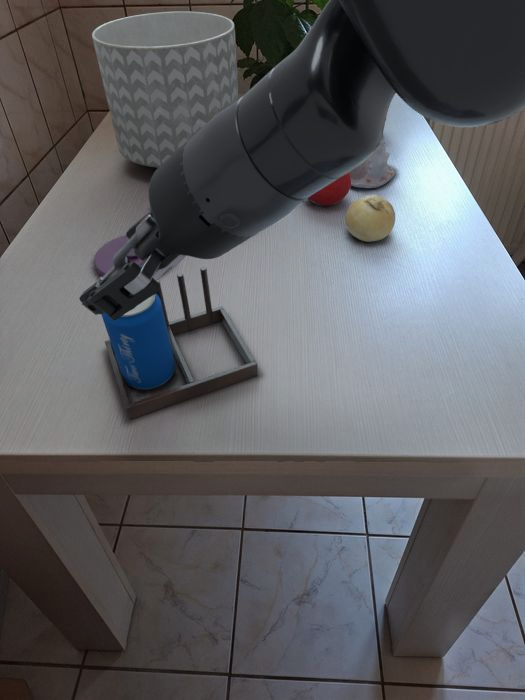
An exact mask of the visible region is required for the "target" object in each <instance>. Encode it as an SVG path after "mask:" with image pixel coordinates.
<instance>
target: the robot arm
mask: <svg viewBox="0 0 525 700" xmlns="http://www.w3.org/2000/svg"><path fill="white" fill-rule="evenodd" d="M395 95H397V96H398V97H399V98H400V99H401V100H402V101H403V102H404V103H405V104H406V105H407V106H408V107H410V108H411V109H412V110H413V111H414V112H416V113H418V114H419V115H421V116H422V117H423V118H424V117H425V118H426V119H428V120H430V121H432V122H434V123H437V124H439V125H444V126H448V127H453V128H463V129H464V128H469V129H470V128H479V127H485V126H489V125H492V124H496V123H500V122H502V121H505V120H506V119H508V118H510V117H512V116H514V115H516V114H517V113H519V112H521V111H522V110H524V109H525V0H328V2H327V3H326V4H325V5H324V7H323V9H322V10H321V11H320V13H319V15H318V16H317V17H316V19H315V21H314V23H313V24H312V26H311V27H310V29H309V30H308V32H307V33H306V34H305V36H304V38H303V39H302V41H301V42H300V43H299V44H298V45H297V47H296V48H295V49H294V50H293V51H292V52H291V53H290V54H289V55H287V56H286V57H285V58H284V59H282V60H281V61H279V63H277V64H276V65H275V66H274V67H273V68H272V69H271V70H270V71H268V72H267V73H266V74H265V75H264V76H263V77H262V78H261V79H259V81H258V82H257V83H255V84H254V85H253V86H252V87H251V88H250V89H249V90H247V92H245V93H244V94H243V95H242V96H241V97H239V99H238V100H237V101H236V102H234V103H233V104H231V105H230V106H228V107H226V108H225V109H223V110H222V111H221V112H219V113H218V114H216V115H215V116H214V117H213V118H212V119H210V120H209V121H208V122H207V123H206V124H205V125H204V126H203V127H202V128H201V129H200V130H199V131H198V132H197V133H195V134H194V135H193V136H192V137H191V138H190V139H189V140H188V141H187V142H186V143H185V144H184V145H182V146H181V147H180V148H179V149H178V150H177V151H176V152H175V153H174V154H173V155H172V156H171V157H169V158H168V159H167V160H166V161H165V162H164V163H163V164H162V165H161V166H160V167H159V168H156V170H155V171H154V172H153V174H152V175H151V178H150V181H149V185H148V203H149V206H148V208H147V210H148V211H147V212H146V214H144V216H142V217H141V218H140V219H139V220H137V221H136V222H135V223H134V224H133V225H132V226H131V227H129V229H128V230H127V231H126V233H125V235H126V236H127V237H128V238H129V240H128V241H127V242H126V243H125V244H124V245H123V246H122V247H121V248H120V249H119V250H118V251H117V252H116V253H115V255H114V259H113V266H112V268H111V269H110V270H109V271H108V272H107V273H106V274H105V275H104V276H103V277H102V276H100V277H99V278H98V279H97V280H96V282H94V283H93V284H91V285H90V286H89V287H87V289H85V290H84V291H83V292H82V293H81V295H80V297H79V301H80V302H81V305H82V306H84V307H85V308H86V309H87V310H88V311H90V312H91V313H93V314H94V315H95V316H97V315H101V314H102V313H105V314H107V315H108V316H109V317H110V318H111V319H112V320H113V321H115V320H116V319H118V318H120V317H121V316H123V315H124V314H126V313H127V312H129V311H130V310H132V309H133V308H135V307H136V306H138V305H139V304H141V303H142V302H144V301H145V300H147V299H148V298H150V297H151V296H152V295H155V294H156V293H157V292H158V290H159V287H160V285H161V283H160V284H159V283H158V282H157V280H159V279H160V278H161V277H162V276H163V275H164V274H165V273H167V271H168V270H169V269H171V268H174V267H177V266H178V265H179V264H180V262H181V261H183V259H184V258H185V257H186V256H187V257H192V258H196V259H201V260H213V259H217V258H219V257H221V256H223V255H225V254H227V253H228V252H230V251H232V250H234V249H235V248H236V247H238V246H240V245H241V244H243V243H244V242H246V241H248V240H249V239H251V238H253V237H254V236H256V235H258V234H259V233H261V232H262V231H264V230H266V229H267V228H269V227H270V226H272V225H274V224H276V223H277V222H279V221H280V220H282V219H283V218H285V217H286V216H288V215H289V214H290V213H292V212H293V211H294V210H295V209H296V208H297V207H298V206H299V205H301V204H302V203H303V202H304V201H306V200H307V199H308V197H310V196H311V195H313V194H315V193H316V192H318V191H319V190H321V189H323V188H324V187H326V186H328V185H329V184H331V183H332V182H334V181H336V180H337V179H339V178H340V177H342V176H344V175H345V174H347V173H349V172H350V171H352V170H353V169H355V168H356V167H358V166H359V165H361V164H362V163H363V162H365V161H366V160H367V159H368V158H369V157H370V156H371V155H372V154H373V153H374V152H375V150H376V149H377V147H378V146H379V144H380V141H382V138H383V135H384V131H385V124H386V121H387V116H388V112H389V110H390V109H389V108H390V106H391V103H392V101H393V99H394V97H395ZM385 120H386V121H385ZM133 248H134V253H135V255H136V256H137V257H139V258H140V259H141V260H142V263H141V264H140V265H138V264H136V263H135V262H134V261H129V260H128V259H127V257H126V256H127V254H128V253H129V252H130V251H131V250H132V249H133Z"/></svg>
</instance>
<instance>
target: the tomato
mask: <svg viewBox="0 0 525 700" xmlns="http://www.w3.org/2000/svg"><path fill="white" fill-rule="evenodd" d="M351 187H352V186H351V177H350V173H347V174H345V175H344V176H342V177H340V178H339V179H337V180H336V181H334V182H332V183H331V184H329V185H328V186H326V187H324V188H323V189H321V190H319V191H318V192H316V193H315V194H313V195H311V196H310V197H308V198H307V199H308V201H309V202H312V203H313V204H315V205H317V206H321V207H322V206H324V207H328V206H333V205H336V204H338V203H340V202H341V201H343V200H344V199H345V197H347V195H348V194H349V191H350V189H351Z"/></svg>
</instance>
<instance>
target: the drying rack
mask: <svg viewBox="0 0 525 700" xmlns="http://www.w3.org/2000/svg"><path fill="white" fill-rule="evenodd" d="M207 269H208V268H207V267H206V266H201V267H200V268H199V272H200V279H201V286H202V293H203V300H204V307H205V310H204V311H202V312H198V313H195V314H192V315H191V311H190V305H189V298H188V293H187V288H186V282H185V276H184V274H183V272H179V273H177V274H176V279H177V284H178V289H179V295H180V301H181V306H182V310H183V316H184V317H182V318H178V319H174V320H172V321H169V318H168V313H167V308H166V303H165V299H164V295H163V290H162V286H161V281H160V280H159V279H158V280H157V282H158V283H159V284H160V287H159V290H158V292H157V293H156V294H157V295H158V296H159V298H160V300H161V304H162V308H163V313H164V317H165V321H166V326H167V330H168V335H169V339H170V343H171V348H172V352H173V355H174V357H175V359H176V361H177V364H178V366H179V368H180V370H181V373H182V374H183V377H184V380H185V381H186V383H187V384H182V385H181V386H177V387H175V388H172V389H168V390H165V391H162V392H158V393H156V394H153V395H151V396H148V397H144V398H142V399H139V400H136V401H133V402H130V399H129V396H128V394H127V390H126V387H125V384H124V380H123V376H122V373H121V371H120V368H119V365H118V362H117V359H116V356H115V353H114V350H113V347H112V344H111V341H110V339H108V340H105V341H104V344H105V348H106V351H107V354H108V357H109V360H110V364H111V367H112V371H113V374H114V377H115V380H116V383H117V386H118V389H119V393H120V396H121V400H122V402H123V406H124V409H125V411H126V415H127V416H128V420H132V419H135V418H139V417H141V416H144V415H147V414H150V413H152V412H155V411H159V410H161V409H164V408H167V407H170V406H172V405H175V404H179V403H182V402H184V401H187V400H191V399H194V398H195V397H198V396H202V395H204V394H207V393H210V392H213V391H217V390H219V389H222V388H225V387H228V386H231V385H233V384H237V383H239V382H242V381H244V380H247V379H251V378H253V377H256V376H258V375H259V373H258V362H257V361H256V360H255V358H254V356H253V354H252V353H251V351H250V349H249V348H248V346H247V344H245V342H244V340H243V337H242V336H241V334H240V333H239V332H238V330H237V328H236V326H235V325H234V323H233V321H232V319H231V318H230V316H229V315H228V313H227V311H226V310H225V308H224V307H223V305H222V306H221V305H220V306H218V307H215V308H212V307H213V306H212V299H211V292H210V285H209V277H208V276H209V275H208V270H207ZM217 322H221V323H222V325H223V327H224V328H225V330H226V332H227V334H228V335H229V336H230V339H231V340H232V342H233V344H234V346H235V348H236V349H237V350H238V352H239V354H240V356H241V357H242V359H243V361H244V362H245V364H243V365H239V366H237V367H233V368H230V369H227V370H225V371H222V372H219V373H216V374H213V375H210V376H206V377H204V378H200V379H198V380H195V379H194V377H193V375H192V372H191V370H190V368H189V366H188V364H187V362H186V359H185V357H184V355H183V353H182V350H181V349H180V346H179V344H178V342H177V339H176V338H175V336H177V335H178V334H182V333H185V332H188V331H189V332H190V331H192V330H195V329H199V328H202V327H205V326H208V325H213V324H216V323H217Z"/></svg>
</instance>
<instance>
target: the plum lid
mask: <svg viewBox="0 0 525 700" xmlns="http://www.w3.org/2000/svg"><path fill="white" fill-rule="evenodd" d="M128 240H129V238H128V237H127V236H126V234H125V235H122V236H119V237H116V238H113V239H111V240H110V241H107V242H106V243H105V244H103V245H102V246H101V247H100V248H99V249H98V250H97V252H96V253H95V255H94V259H93V261H94V266H95V269H96V272H97V273H98V275H100V277H103V276H104V275H105V274H106V273H107V272H108V271H109V270H110V269H111V268H112V266H113V259H114V255H115V253H116V252H117V251H118V250H119V249H120V248H121V247H122V246H123V245H124V244H125V243H126V242H127V241H128ZM126 257H127V259H128V260H129V261H134V262H135V263H136V264H138V265H140V264H141V263H142V260H141V259H140V258H139V257H137V256H136V255H135V253H134V248H133V249H132V250H131V251H130V252H129V253H128V254H127V256H126Z"/></svg>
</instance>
